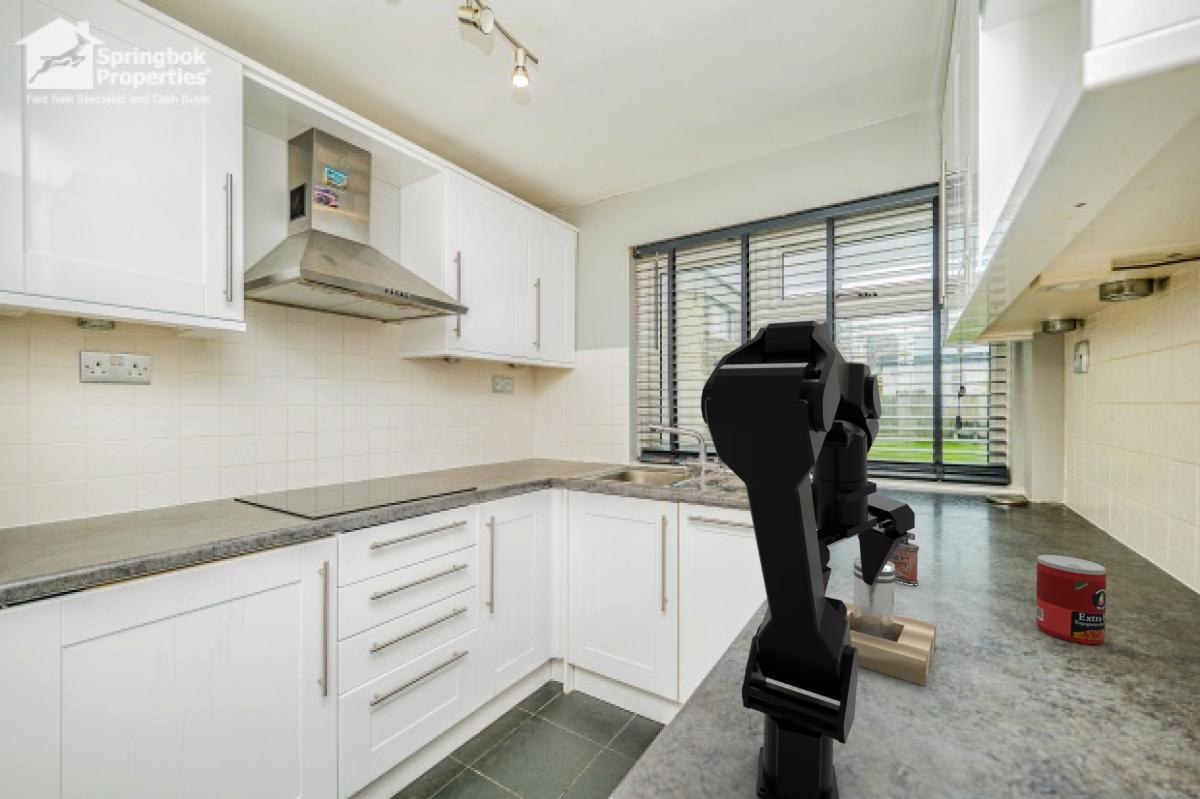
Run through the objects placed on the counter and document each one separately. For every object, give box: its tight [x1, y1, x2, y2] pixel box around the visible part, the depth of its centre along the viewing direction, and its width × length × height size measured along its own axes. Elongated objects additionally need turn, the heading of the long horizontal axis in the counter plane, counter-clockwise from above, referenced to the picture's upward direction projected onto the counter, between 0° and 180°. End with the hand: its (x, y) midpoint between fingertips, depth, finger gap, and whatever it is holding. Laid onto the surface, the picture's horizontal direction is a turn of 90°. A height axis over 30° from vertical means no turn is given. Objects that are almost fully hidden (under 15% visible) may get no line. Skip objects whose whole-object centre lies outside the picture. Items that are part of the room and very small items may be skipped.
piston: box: [852, 556, 896, 641], centre depth 72 cm, size 5×5×12 cm
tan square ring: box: [843, 601, 938, 687], centre depth 72 cm, size 14×14×3 cm
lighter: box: [888, 531, 920, 585], centre depth 103 cm, size 8×3×10 cm, turn 25°
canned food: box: [1035, 554, 1107, 646], centre depth 79 cm, size 8×8×11 cm
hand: (842, 596), depth 62 cm, fingers open, 9 cm apart
